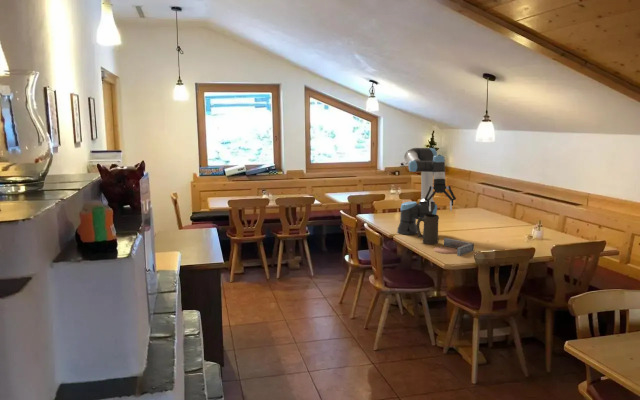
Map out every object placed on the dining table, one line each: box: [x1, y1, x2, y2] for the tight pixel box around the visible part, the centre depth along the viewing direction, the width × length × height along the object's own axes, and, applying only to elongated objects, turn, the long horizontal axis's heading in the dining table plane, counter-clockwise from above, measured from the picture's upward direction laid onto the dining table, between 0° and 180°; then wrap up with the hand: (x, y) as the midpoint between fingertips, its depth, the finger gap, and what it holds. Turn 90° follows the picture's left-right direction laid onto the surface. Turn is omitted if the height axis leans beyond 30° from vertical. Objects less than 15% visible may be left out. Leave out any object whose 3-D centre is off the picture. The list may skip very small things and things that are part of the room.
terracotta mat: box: [433, 246, 458, 255], centre depth 334 cm, size 16×16×1 cm
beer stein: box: [416, 214, 440, 246], centre depth 352 cm, size 15×11×20 cm
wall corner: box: [443, 237, 475, 257], centre depth 335 cm, size 18×21×5 cm
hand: (440, 211), depth 333 cm, fingers open, 13 cm apart
